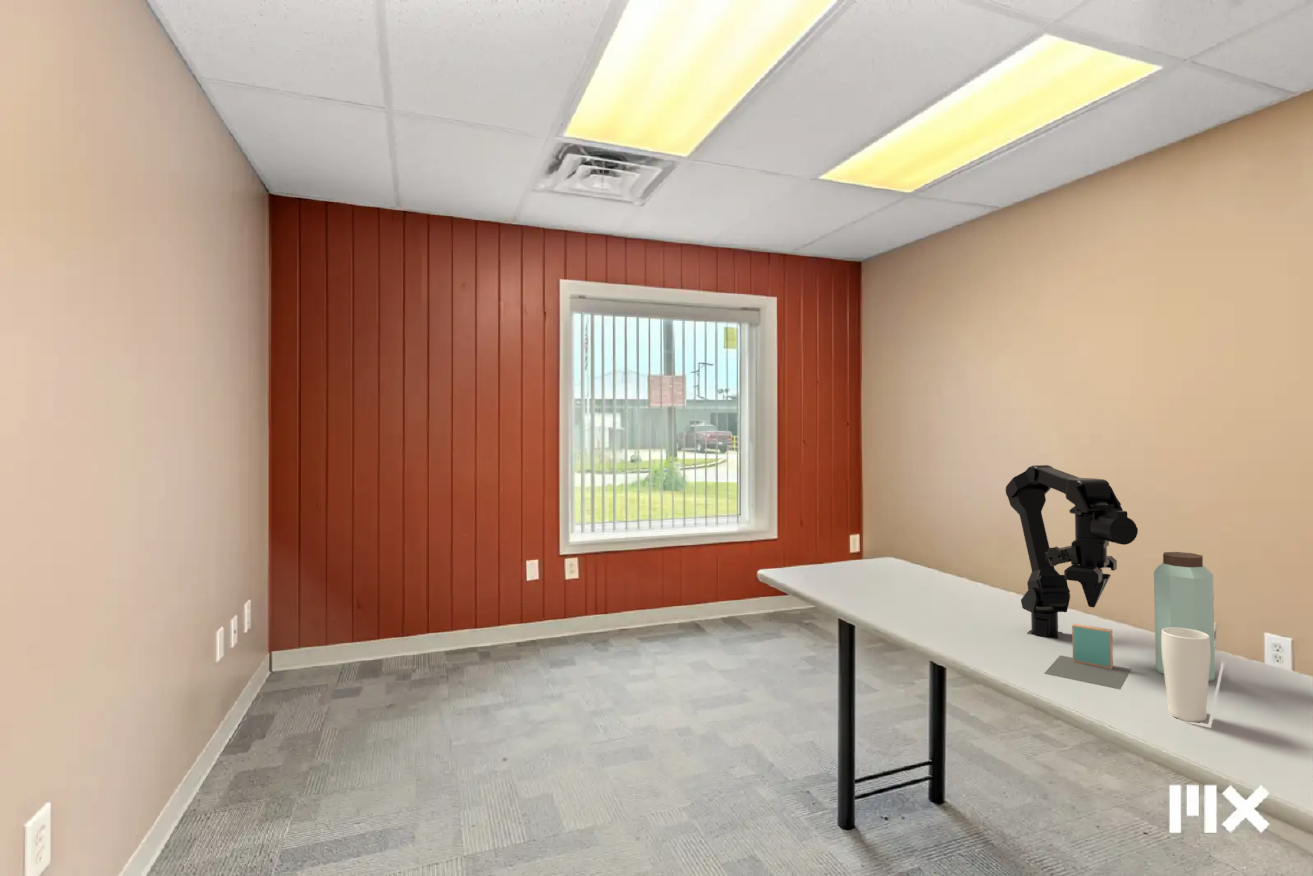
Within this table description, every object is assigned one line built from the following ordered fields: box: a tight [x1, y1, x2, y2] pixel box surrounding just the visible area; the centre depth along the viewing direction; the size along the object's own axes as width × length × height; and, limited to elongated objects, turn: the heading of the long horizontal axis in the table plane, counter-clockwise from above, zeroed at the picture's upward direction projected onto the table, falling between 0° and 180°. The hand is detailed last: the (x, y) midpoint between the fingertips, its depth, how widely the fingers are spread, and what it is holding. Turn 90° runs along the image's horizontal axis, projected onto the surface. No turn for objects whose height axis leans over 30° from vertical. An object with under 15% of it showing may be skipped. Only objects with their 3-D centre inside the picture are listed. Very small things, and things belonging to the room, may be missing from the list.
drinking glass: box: [1161, 627, 1211, 723], centre depth 115 cm, size 7×7×15 cm
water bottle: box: [1153, 551, 1216, 682], centre depth 133 cm, size 10×10×25 cm
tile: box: [1071, 623, 1114, 669], centre depth 139 cm, size 2×7×8 cm, turn 46°
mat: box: [1043, 654, 1132, 690], centre depth 136 cm, size 14×13×1 cm
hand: (1091, 606), depth 143 cm, fingers closed
